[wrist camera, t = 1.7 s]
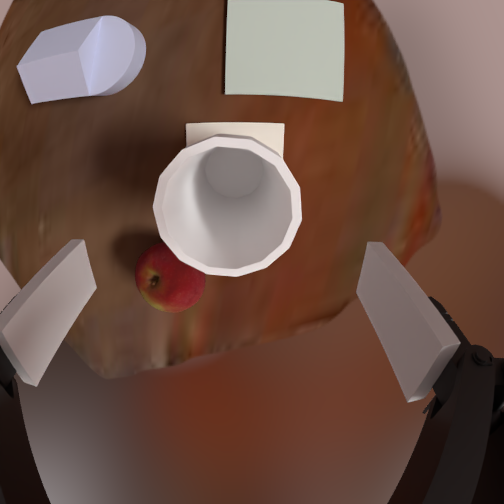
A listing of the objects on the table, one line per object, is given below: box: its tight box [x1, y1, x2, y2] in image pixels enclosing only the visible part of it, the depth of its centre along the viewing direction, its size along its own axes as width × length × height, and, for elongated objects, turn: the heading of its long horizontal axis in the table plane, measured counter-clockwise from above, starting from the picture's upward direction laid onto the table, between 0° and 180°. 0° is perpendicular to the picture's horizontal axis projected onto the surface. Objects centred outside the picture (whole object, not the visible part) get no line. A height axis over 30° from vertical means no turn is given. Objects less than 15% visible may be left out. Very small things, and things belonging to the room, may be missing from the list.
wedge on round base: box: [17, 16, 146, 104], centre depth 19 cm, size 9×7×13 cm
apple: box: [135, 242, 205, 313], centre depth 31 cm, size 8×8×8 cm
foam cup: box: [153, 133, 302, 277], centre depth 23 cm, size 10×9×13 cm
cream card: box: [186, 122, 284, 159], centre depth 29 cm, size 10×10×1 cm
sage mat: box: [225, 0, 344, 102], centre depth 23 cm, size 12×12×1 cm
